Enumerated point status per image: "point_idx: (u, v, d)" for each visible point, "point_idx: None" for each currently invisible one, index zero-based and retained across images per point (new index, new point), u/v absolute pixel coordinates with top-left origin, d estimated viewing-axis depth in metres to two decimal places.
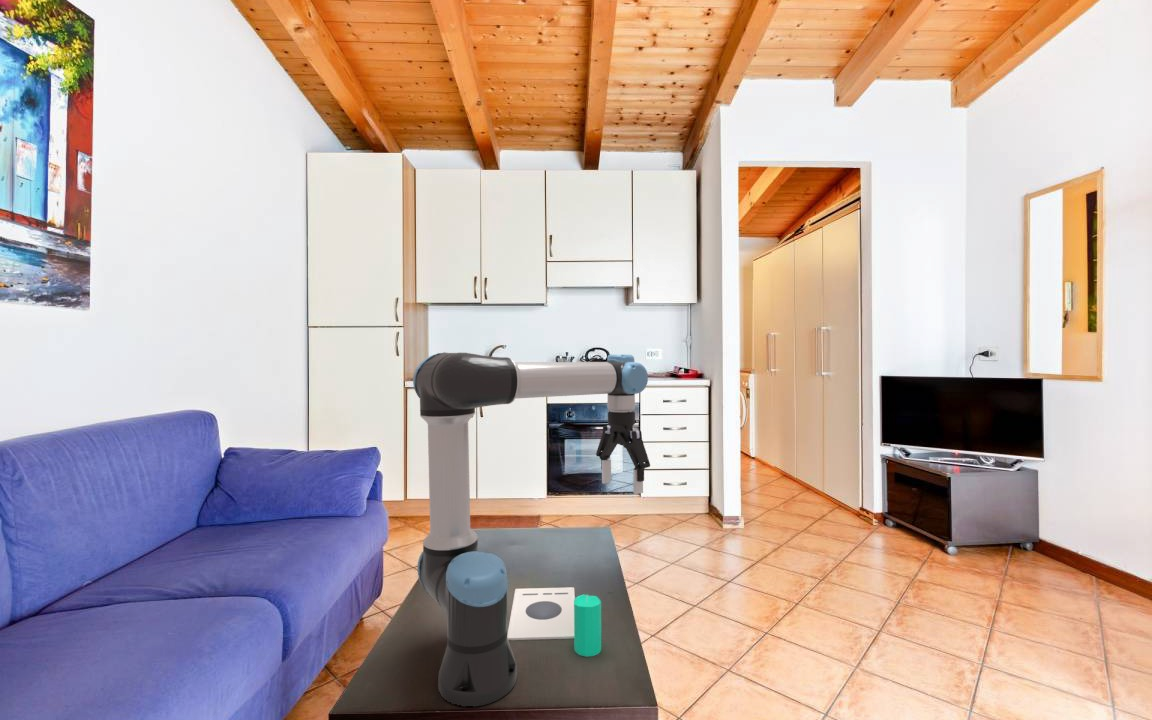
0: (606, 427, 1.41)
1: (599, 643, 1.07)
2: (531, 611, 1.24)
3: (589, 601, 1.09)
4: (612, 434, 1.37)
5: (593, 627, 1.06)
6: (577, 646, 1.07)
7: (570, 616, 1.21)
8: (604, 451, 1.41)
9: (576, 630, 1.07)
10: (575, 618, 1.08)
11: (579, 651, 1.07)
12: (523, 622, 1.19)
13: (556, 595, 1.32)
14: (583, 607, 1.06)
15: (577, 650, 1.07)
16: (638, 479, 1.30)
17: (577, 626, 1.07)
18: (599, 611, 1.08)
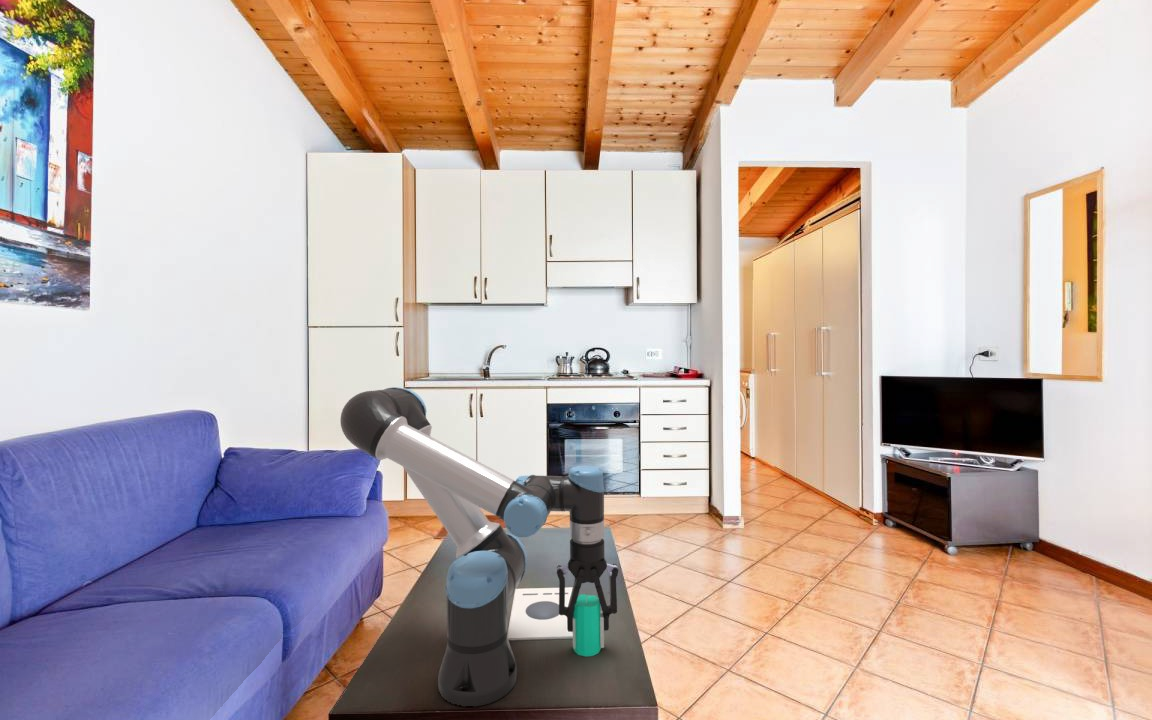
0: None
1: (598, 643, 1.07)
2: (531, 611, 1.24)
3: (588, 601, 1.09)
4: None
5: (592, 627, 1.06)
6: (576, 646, 1.07)
7: None
8: None
9: (575, 630, 1.07)
10: None
11: (578, 651, 1.07)
12: (523, 622, 1.19)
13: (556, 595, 1.32)
14: (582, 607, 1.06)
15: (576, 650, 1.07)
16: None
17: (576, 626, 1.07)
18: (598, 611, 1.08)
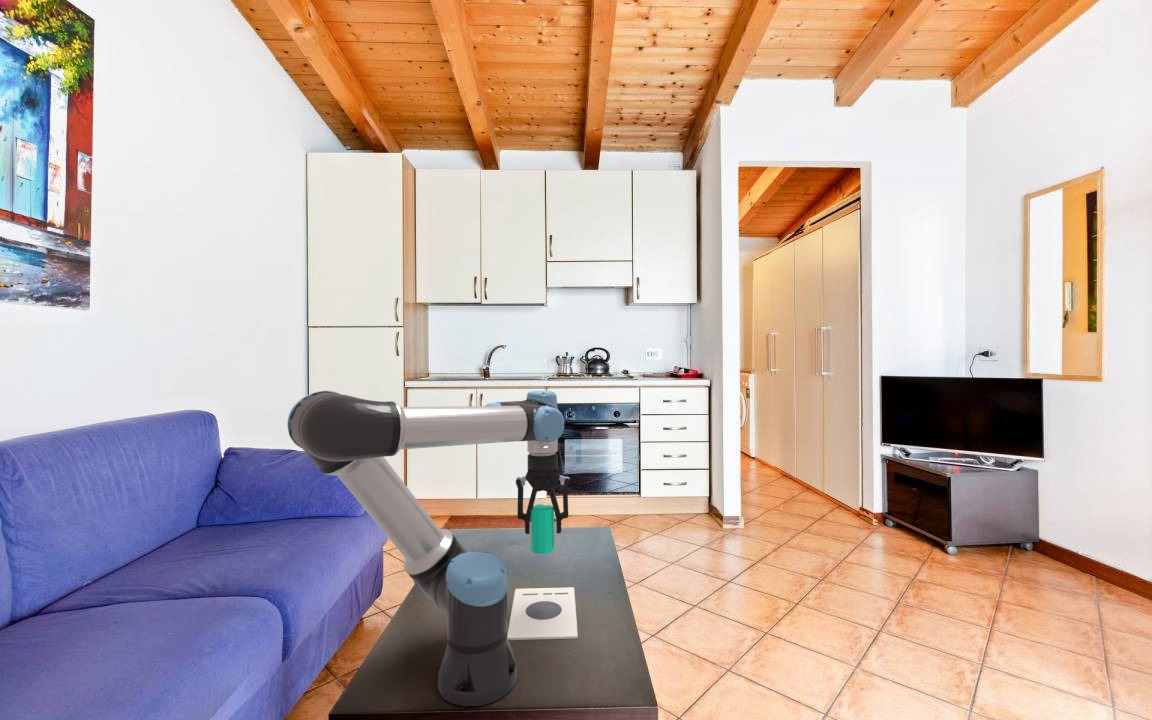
0: None
1: (552, 543, 1.23)
2: (531, 611, 1.24)
3: (544, 508, 1.25)
4: None
5: (546, 529, 1.22)
6: (532, 545, 1.22)
7: (570, 616, 1.21)
8: None
9: None
10: None
11: (534, 550, 1.22)
12: (523, 622, 1.19)
13: (556, 595, 1.32)
14: (537, 511, 1.22)
15: (532, 549, 1.23)
16: None
17: (532, 528, 1.23)
18: (552, 516, 1.23)
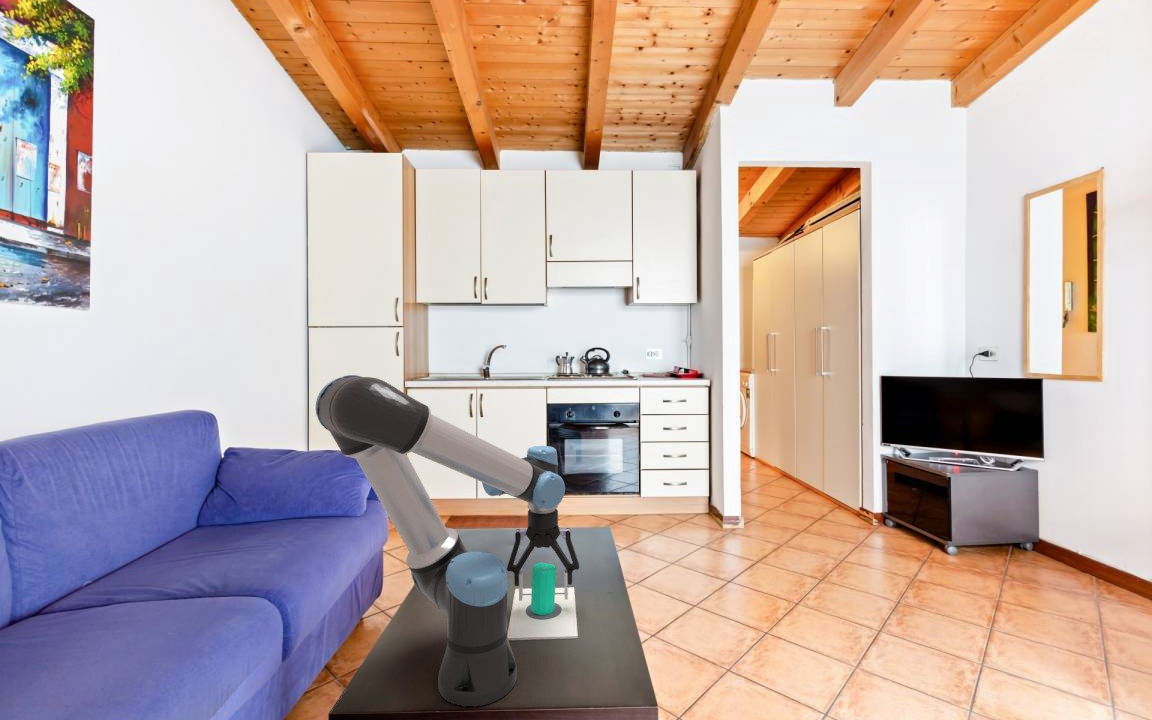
0: (566, 530, 1.25)
1: (552, 604, 1.23)
2: (531, 611, 1.24)
3: (546, 568, 1.25)
4: None
5: (547, 590, 1.22)
6: (533, 606, 1.23)
7: (570, 616, 1.21)
8: None
9: (533, 592, 1.23)
10: (532, 581, 1.23)
11: (534, 610, 1.22)
12: (523, 622, 1.19)
13: (556, 595, 1.32)
14: (539, 571, 1.22)
15: (533, 609, 1.23)
16: None
17: (534, 588, 1.23)
18: (554, 576, 1.24)
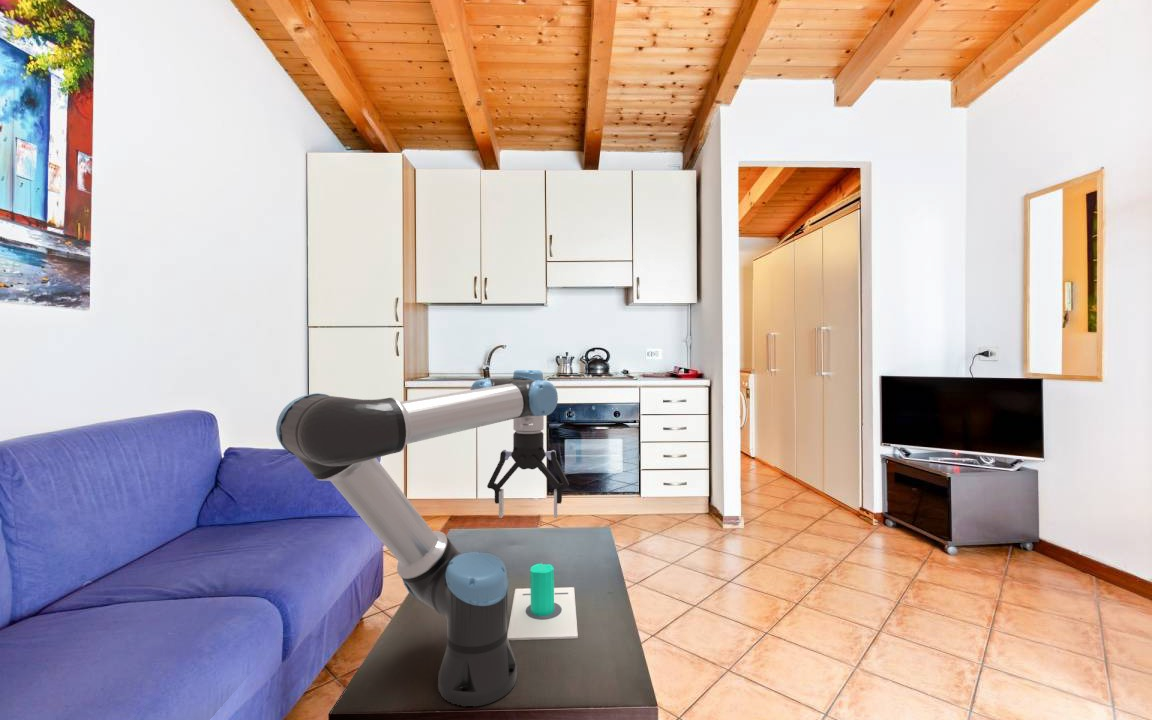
0: None
1: (552, 605, 1.23)
2: None
3: (544, 569, 1.25)
4: None
5: (546, 591, 1.22)
6: (533, 607, 1.23)
7: (570, 616, 1.21)
8: None
9: (532, 593, 1.23)
10: (531, 583, 1.23)
11: (534, 611, 1.22)
12: (523, 622, 1.19)
13: (556, 595, 1.32)
14: (537, 573, 1.22)
15: (532, 611, 1.23)
16: None
17: (532, 590, 1.23)
18: (552, 577, 1.23)
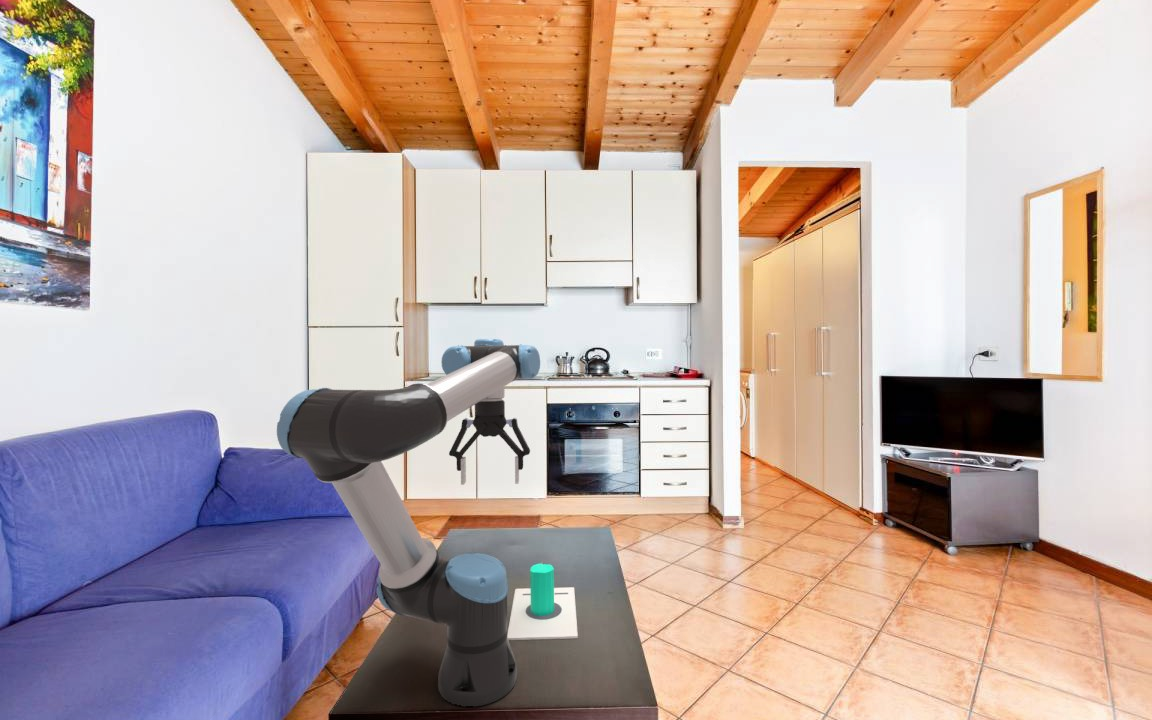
0: None
1: (552, 605, 1.23)
2: None
3: (544, 568, 1.25)
4: None
5: (546, 591, 1.22)
6: (533, 607, 1.23)
7: (570, 616, 1.21)
8: None
9: (532, 593, 1.23)
10: (531, 583, 1.23)
11: (534, 611, 1.22)
12: (523, 622, 1.19)
13: (556, 595, 1.32)
14: (537, 573, 1.22)
15: (532, 611, 1.23)
16: None
17: (532, 590, 1.23)
18: (552, 577, 1.23)
